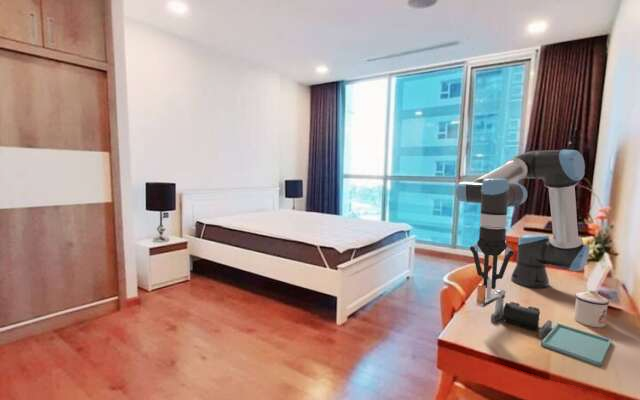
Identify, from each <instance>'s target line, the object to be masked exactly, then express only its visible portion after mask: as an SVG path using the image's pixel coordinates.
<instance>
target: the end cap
mask: <svg viewBox="0 0 640 400" xmlns="http://www.w3.org/2000/svg"><path fill="white" fill-rule="evenodd" d="M503 307H504V312H503V316H502V319H503V320H504V321H505V322H506V323H509V324H513V325H515V326H520V327H523V328H525V329H526V328H527V329H530V330H534V331H537V330H539V324H540V314H541V312H540V309H539V308H537V307H534V306H530V305H529V306H528V307H524V306H521V305H520V303H518V302H513V301H510V302H506V303H505V304H504V306H503Z"/></svg>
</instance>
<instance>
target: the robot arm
mask: <svg viewBox="0 0 640 400" xmlns="http://www.w3.org/2000/svg"><path fill="white" fill-rule="evenodd" d="M585 164H586V163H585V159H584V157H583V155H582V153H581V152H579V151H578V150H577V149H576V150H575V149H549V150H531V151H528V152H527V151H526V152H524V153H521V154H518V155H516V156H513V157H511V158H509V159H507V160H506V161H505V162H504V164H503V165H501V166H500V167H498V168H497V167H496V169H493V170H491V171H489V172H487V173H486V174H484V175H482V176H480V177H479V178H477V179H475V180H472V181H468V180H467V181H461V182H459V183H458V184H457V185H456V186H455V187H456V188H455V196H456V199H457V200H458V201H460V202H465V203H472V204H480V214H479V215H480V216H479V217H480V218H479V225H480V227H479V232H478V233H479V235H478V240H477V242H476V243H475V244H472V245H470V247H469V250H470V252H471V253H472V255H473V259H474V263H475V268H476V269H475V270H476V273H477V276H479V277H481V278H483V279H482V280H483V281H482V284H485V285H486V296H485V297H486V299H491V294H492V291H493V290H496V289H497V287H496V286H497V280H502V279H503V278H504V275H505V272H506V270H507V266H508V264H509V261H510V259H511V257H512V256H513V255H514V254H515V251H514V249H511V248H510V247H508V243H506V235H507V229H506V227H507V218H508V217H507V216H508V207H516V206H517V207H518V206H519V205H522V204H524V203H525V202H526V201H527V198H528V190H527V188H526V187H525V186H524V185H522V184H520V183H513V182H514V181H521V180H523V179H538V180H543V181H542V183H543V186H544V187H546V188H547V189H548V194H549V195H548V196H549V197H548V198H549V206H550V215H551V217H550V218H551V226H552V227H551V228H552V236H551V237H549V235H548V234H541V233H540V234H538V233H537V234H535V233H533V234H532V233H531V234H530V233H527V234H521V235H520V236H519V238H518V243H517V252H516V253H517V254H516V255H517V256H516V265H515V267H514V269H513V271H512V273H511V278H510V280H511V281H512V282H513V283H515V284H517V285H520V286H523V287H528V288H533V289H534V288H535V289H545V288H548V287H549V286H550V279H549V277H548V273H547V270H546V269H547V266H551V267H555V268H561V269H565V270H568V271H575V272H580V271H582V270H583V269H584V268H585V267H586V265H587V263H588V260H589V255H590V251H591V250H590V249H591V248H590V245H587V244H584V241H583V238H582V237H581V236H579V231H578V219H577V218H578V217H577V216H578V215H577V214H578V213H577V202H576V199H577V198H576V190H575V188H576V186H577V185H578V184H580V183H579V182H580V181H581V180H582V179H583V178H584V177H585V173H586V172H585V170H586V165H585ZM479 250H481V252H482V253H483V256H484V257H483V258H484V260H483V270H482V266H481V262H480V261H481V260H480V256H479V252H478V251H479ZM503 252H504V254H505V255H504V258H503V261H502V264H501V266H500V269H499V272H498V273H497V271H498V269H497V268H498V257H499V256H500V255H501V254H502V253H503ZM490 256H492V268H491V270H492V271H491V276H489V262H490Z"/></svg>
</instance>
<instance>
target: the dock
mask: <svg viewBox="0 0 640 400" xmlns="http://www.w3.org/2000/svg"><path fill="white" fill-rule="evenodd" d="M504 299H505V298H499V299H497V300H495V305H494V306H495V307H494V312H493V313H492V314H491V317H490V323H495V322H497V321H498V320H502V319H503V312H504V307H505V306H504ZM552 323H553V321H552V320H550V319H548V320H546V321H545V323H544V324H543V325H542V326H541V327H540V328H538V333H537V334H538V335H537V338H538V339H541V340H543V339H544V338H545V337H546V336H547V335H548V333H549V332H550V331H551V330H552Z"/></svg>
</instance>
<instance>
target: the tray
mask: <svg viewBox="0 0 640 400" xmlns="http://www.w3.org/2000/svg"><path fill="white" fill-rule="evenodd" d="M611 344H612V339H611V338H608V337H605V336H601V335H598V334H595V333H591V332H589V331H585V330H581V329H579V328H574V327H571V326H568V325H565V324H562V323H556V324H555V325H554V326H553V328H551V329H550V330H549V331H548V332H547V334H546V335H545V336H544V337H543V338H542V339H541V342H540V346H541V347H544V348H545V349H549V350H551V351H555V352H558V353H560V354H563V355H566V356H569V357H572V358H575V359H577V360H581V361H583V362H585V363H588V364H592V365H595V366H598V367H600V368H601V366H602V364H603V362H604V360H605V358H606V355H607V353H608V351H609V349H610V347H611Z"/></svg>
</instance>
